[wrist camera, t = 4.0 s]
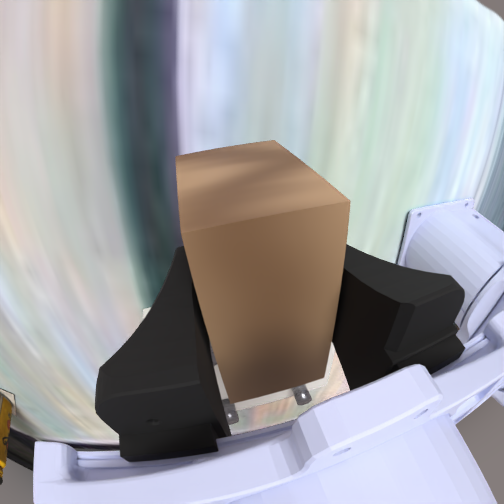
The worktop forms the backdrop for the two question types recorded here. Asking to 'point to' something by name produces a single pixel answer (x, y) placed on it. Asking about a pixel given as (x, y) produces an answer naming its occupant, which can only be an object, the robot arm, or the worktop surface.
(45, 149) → the worktop surface
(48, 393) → the worktop surface
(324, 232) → the walnut block
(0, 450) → the condiment
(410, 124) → the worktop surface
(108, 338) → the worktop surface
